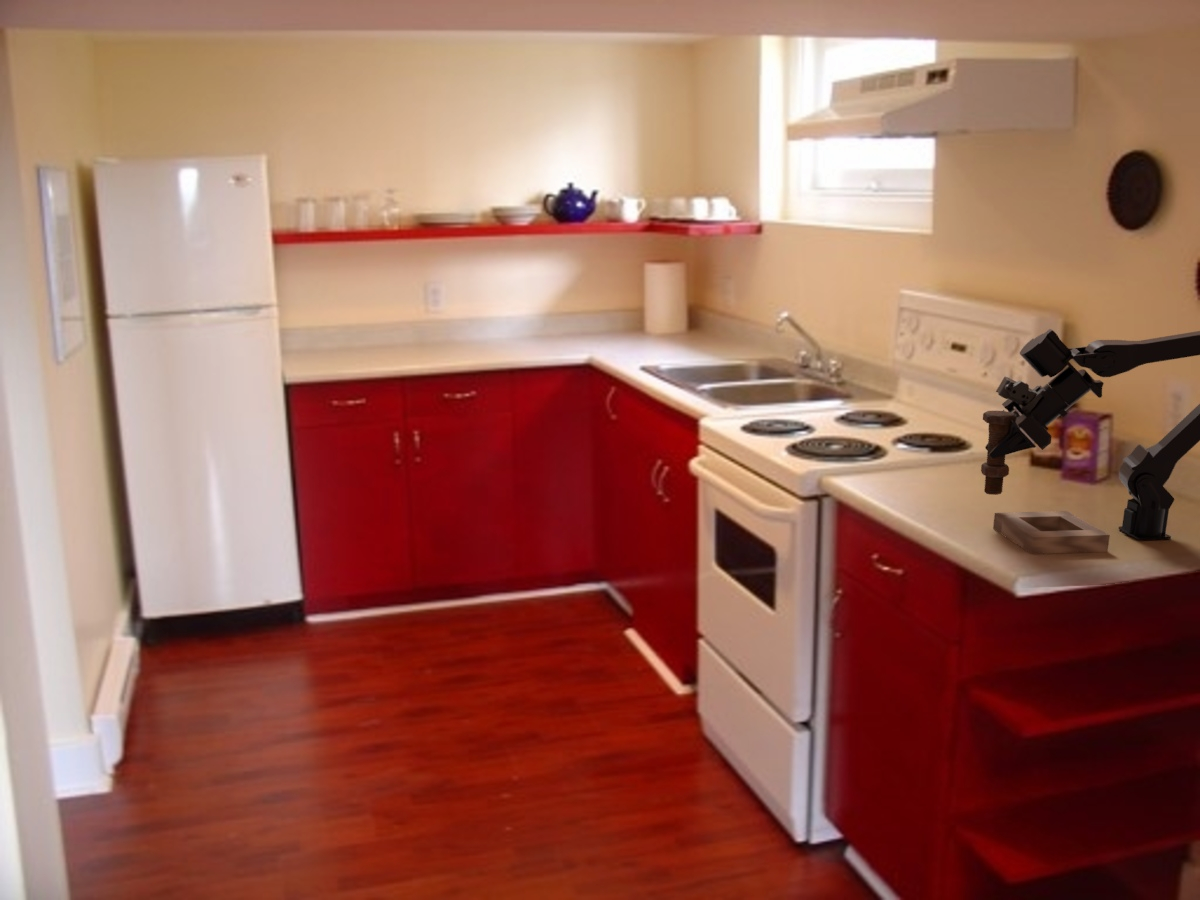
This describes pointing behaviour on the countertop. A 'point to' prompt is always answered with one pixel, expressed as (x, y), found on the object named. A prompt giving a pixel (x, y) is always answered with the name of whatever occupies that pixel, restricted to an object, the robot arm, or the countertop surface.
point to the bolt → (997, 431)
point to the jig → (1051, 532)
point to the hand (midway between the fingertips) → (988, 453)
